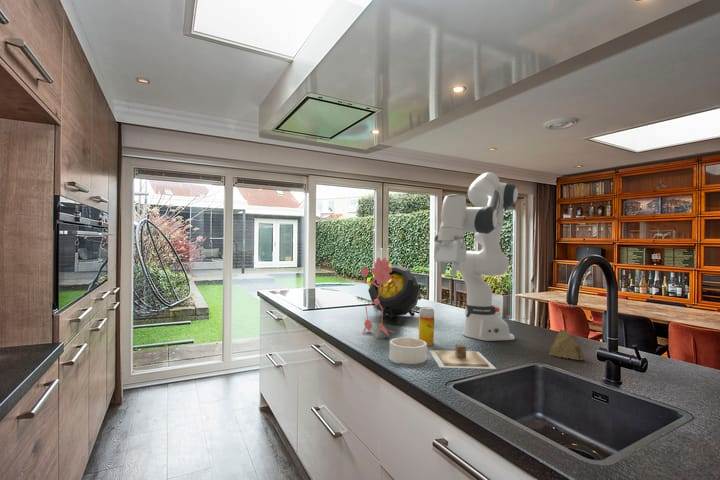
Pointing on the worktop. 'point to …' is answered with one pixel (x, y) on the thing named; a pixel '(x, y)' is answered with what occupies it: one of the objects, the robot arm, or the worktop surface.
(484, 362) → the lid
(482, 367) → the mat
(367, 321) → the figurine
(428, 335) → the beer can
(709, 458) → the worktop surface
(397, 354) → the bowl
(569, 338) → the rock
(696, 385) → the worktop surface
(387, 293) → the cauldron
